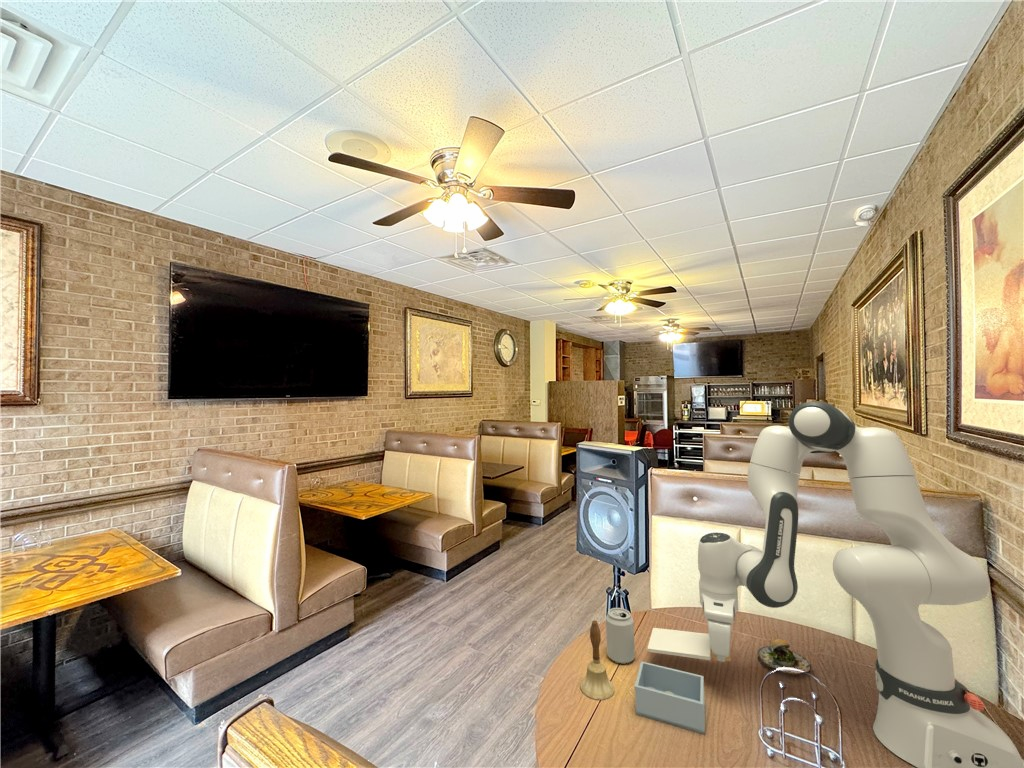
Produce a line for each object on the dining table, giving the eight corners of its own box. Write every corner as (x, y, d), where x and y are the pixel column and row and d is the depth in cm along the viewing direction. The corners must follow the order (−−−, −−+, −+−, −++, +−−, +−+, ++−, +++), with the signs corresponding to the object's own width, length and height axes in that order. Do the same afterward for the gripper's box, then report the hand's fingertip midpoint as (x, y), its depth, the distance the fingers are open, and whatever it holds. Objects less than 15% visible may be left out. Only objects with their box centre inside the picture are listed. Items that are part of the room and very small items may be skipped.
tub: (704, 703, 93) (703, 676, 94) (704, 734, 84) (703, 704, 85) (642, 686, 99) (641, 661, 100) (635, 714, 90) (634, 686, 91)
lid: (729, 645, 107) (728, 636, 107) (731, 670, 97) (729, 659, 97) (654, 636, 115) (653, 627, 115) (648, 658, 105) (647, 648, 106)
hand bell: (617, 701, 95) (614, 630, 96) (581, 699, 95) (579, 629, 97) (611, 678, 103) (609, 613, 104) (579, 676, 104) (577, 612, 105)
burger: (760, 673, 104) (759, 643, 104) (755, 648, 115) (753, 621, 115) (817, 685, 99) (815, 654, 99) (806, 658, 110) (804, 630, 110)
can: (636, 667, 107) (634, 620, 108) (607, 664, 108) (605, 618, 109) (633, 650, 114) (632, 607, 115) (606, 648, 116) (605, 605, 117)
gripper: (705, 580, 114) (708, 631, 113) (703, 614, 96) (706, 674, 95) (730, 584, 111) (733, 636, 111) (733, 620, 93) (737, 682, 92)
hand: (721, 654), depth 103 cm, fingers closed on lid, 3 cm apart
